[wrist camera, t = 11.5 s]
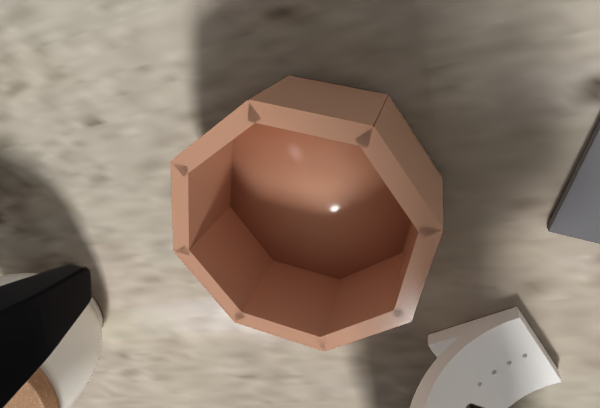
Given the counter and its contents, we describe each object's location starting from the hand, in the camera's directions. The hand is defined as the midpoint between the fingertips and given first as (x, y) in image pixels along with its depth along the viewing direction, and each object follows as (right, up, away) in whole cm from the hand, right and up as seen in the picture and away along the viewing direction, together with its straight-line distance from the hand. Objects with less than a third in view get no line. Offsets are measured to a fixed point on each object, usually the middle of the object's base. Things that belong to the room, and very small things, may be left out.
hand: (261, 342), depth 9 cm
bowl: (+2, +4, +12) cm, 13 cm away
